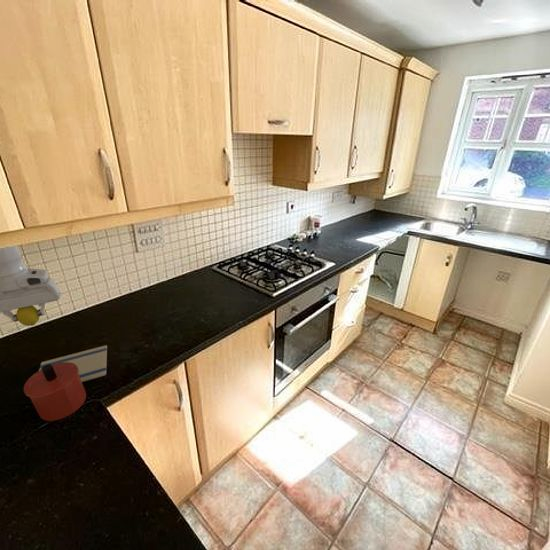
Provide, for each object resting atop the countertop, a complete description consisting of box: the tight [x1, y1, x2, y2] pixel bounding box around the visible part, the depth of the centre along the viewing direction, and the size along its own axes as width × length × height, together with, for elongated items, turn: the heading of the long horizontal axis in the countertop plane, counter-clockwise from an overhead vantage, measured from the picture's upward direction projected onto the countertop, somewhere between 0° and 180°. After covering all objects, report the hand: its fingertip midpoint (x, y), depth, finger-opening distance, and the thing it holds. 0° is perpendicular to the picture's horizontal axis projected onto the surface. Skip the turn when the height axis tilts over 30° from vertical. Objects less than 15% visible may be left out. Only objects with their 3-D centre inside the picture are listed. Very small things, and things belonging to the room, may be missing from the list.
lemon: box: [16, 305, 41, 327], centre depth 97 cm, size 6×6×8 cm
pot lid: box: [23, 362, 78, 398], centre depth 83 cm, size 13×13×5 cm
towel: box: [38, 344, 108, 383], centre depth 100 cm, size 20×16×1 cm
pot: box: [29, 374, 87, 422], centre depth 86 cm, size 12×12×10 cm
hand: (29, 317), depth 97 cm, fingers closed on lemon, 5 cm apart
